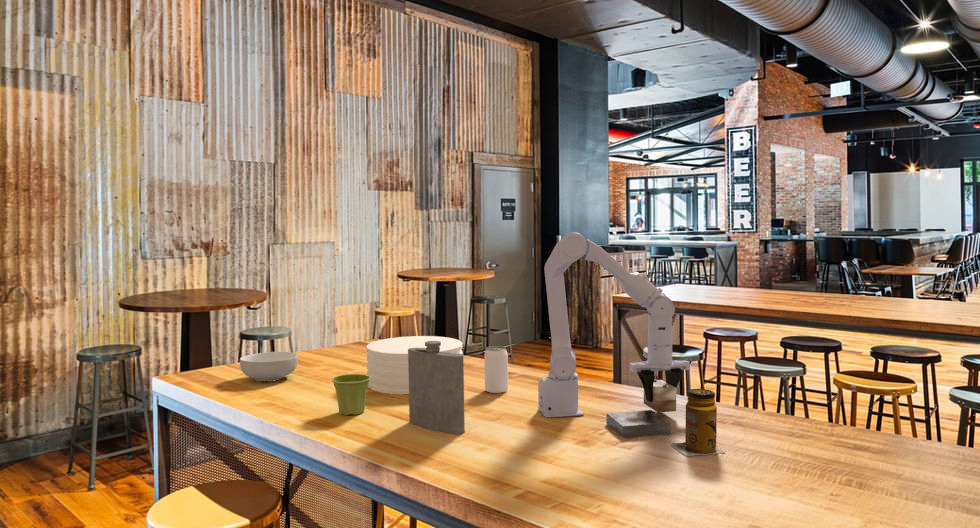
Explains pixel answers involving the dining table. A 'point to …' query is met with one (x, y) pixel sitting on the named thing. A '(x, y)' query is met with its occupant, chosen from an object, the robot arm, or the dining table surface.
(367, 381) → the plant pot
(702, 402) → the condiment
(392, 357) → the plate stack
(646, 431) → the stand
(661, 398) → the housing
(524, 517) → the dining table surface
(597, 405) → the dining table surface
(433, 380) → the hip flask
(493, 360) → the can
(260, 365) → the cereal bowl
